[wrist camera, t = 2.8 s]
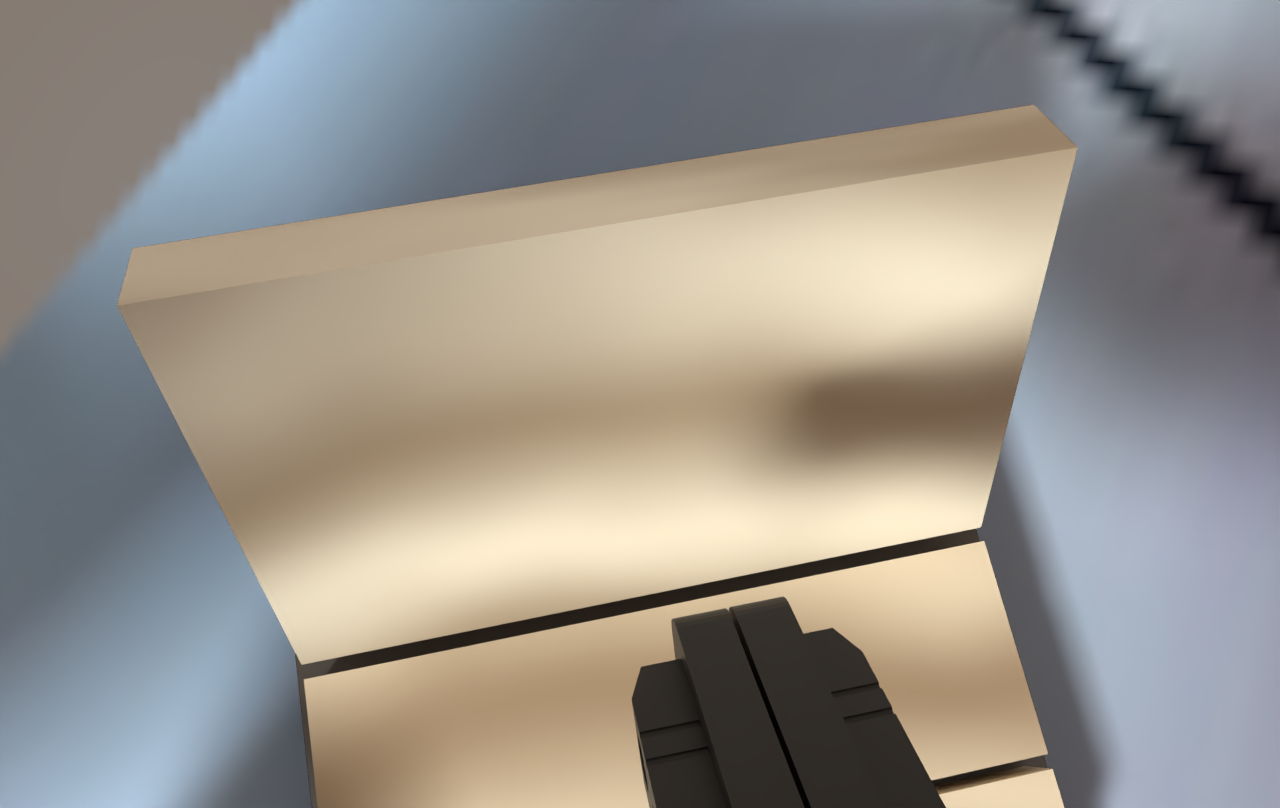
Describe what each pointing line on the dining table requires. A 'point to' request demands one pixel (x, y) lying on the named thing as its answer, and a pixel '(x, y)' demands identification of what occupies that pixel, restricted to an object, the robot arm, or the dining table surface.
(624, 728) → the floor board
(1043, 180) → the oak plank
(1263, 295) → the dining table surface
